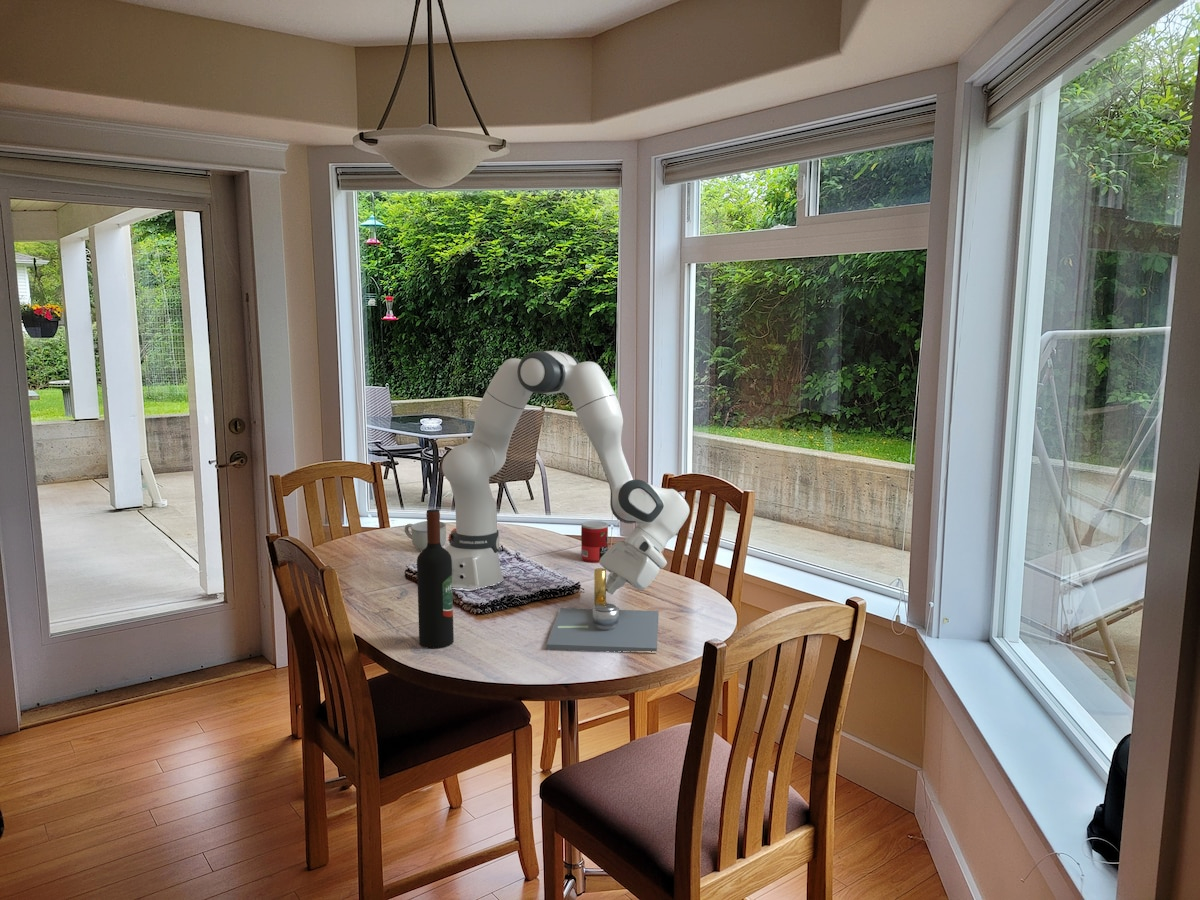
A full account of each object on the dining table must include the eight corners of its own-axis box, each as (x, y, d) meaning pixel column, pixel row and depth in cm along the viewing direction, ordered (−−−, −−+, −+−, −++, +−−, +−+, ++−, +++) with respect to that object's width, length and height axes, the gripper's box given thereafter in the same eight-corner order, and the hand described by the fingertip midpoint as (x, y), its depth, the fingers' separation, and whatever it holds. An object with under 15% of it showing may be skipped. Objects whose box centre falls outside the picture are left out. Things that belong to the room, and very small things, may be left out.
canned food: (605, 563, 252) (605, 527, 251) (578, 562, 254) (578, 526, 252) (609, 556, 260) (610, 521, 258) (584, 555, 261) (584, 520, 260)
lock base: (546, 649, 186) (546, 639, 186) (560, 612, 210) (560, 604, 210) (656, 653, 184) (656, 643, 184) (658, 615, 208) (658, 607, 208)
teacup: (453, 548, 269) (453, 523, 268) (429, 556, 260) (428, 530, 259) (421, 542, 277) (420, 518, 275) (396, 549, 268) (395, 524, 266)
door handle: (620, 625, 194) (620, 587, 193) (593, 626, 194) (594, 588, 192) (611, 603, 209) (611, 567, 208) (587, 604, 209) (587, 568, 207)
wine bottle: (421, 636, 194) (417, 507, 189) (455, 635, 194) (452, 506, 190) (417, 649, 186) (413, 514, 182) (452, 648, 187) (449, 514, 183)
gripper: (615, 530, 219) (581, 572, 216) (654, 549, 200) (617, 596, 198) (630, 545, 221) (597, 587, 219) (670, 565, 203) (634, 611, 200)
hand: (607, 591), depth 208 cm, fingers closed, pressing on door handle
